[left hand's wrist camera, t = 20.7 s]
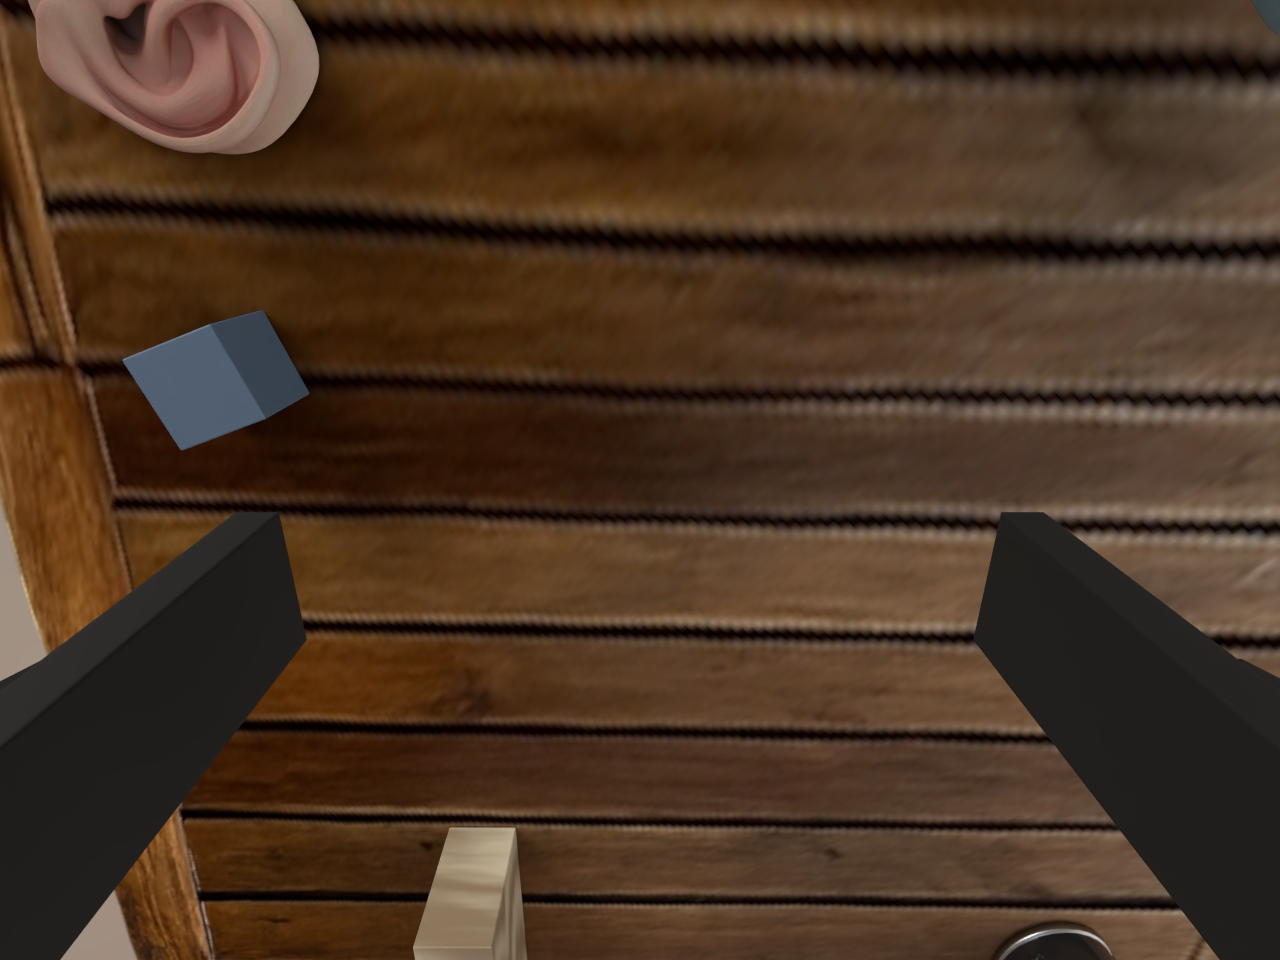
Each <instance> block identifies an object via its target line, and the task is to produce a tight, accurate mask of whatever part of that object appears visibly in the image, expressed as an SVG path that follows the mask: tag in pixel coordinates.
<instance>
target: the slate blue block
mask: <svg viewBox="0 0 1280 960" xmlns="http://www.w3.org/2000/svg"><path fill="white" fill-rule="evenodd" d="M123 362H124V364H125V365H126V367H127V368H128V370H129V371H130V373H131V375H132V376H133V378H134V379H135V381H136V382H137V384H138V385H139V387H140V388H141V390H142V391H143V393H144V394H145V396H146V397H147V399H148V401H149V402H150V404H151V405H152V407H153V408H154V410H155V411H156V413H157V414H158V416H159V417H160V419H161V420H162V422H163V423H164V425H165V427H166V428H167V430H168V431H169V433H170V434H171V436H172V437H173V439H174V440H175V442H176V443H177V445H178V446H179V448H180V449H181V450H185V449H187V448H190V447H193V446H195V445H198V444H201V443H203V442H206V441H209V440H211V439H214V438H216V437H219V436H222V435H224V434H227V433H230V432H232V431H235V430H238V429H240V428H243V427H246V426H248V425H251V424H254V423H256V422H259V421H261V420H264V419H266V418H268V417H270V416H271V415H273V414H275V413H277V412H279V411H280V410H282V409H284V408H286V407H287V406H289V405H291V404H293V403H294V402H296V401H298V400H300V399H301V398H303V397H305V396H307V395H308V394H309V391H308V390H307V388H306V386H305V384H304V383H303V381H302V379H301V377H300V375H299V374H298V372H297V370H296V368H295V366H294V365H293V363H292V361H291V359H290V357H289V356H288V354H287V352H286V350H285V349H284V347H283V345H282V343H281V341H280V340H279V338H278V336H277V334H276V332H275V331H274V329H273V327H272V325H271V324H270V322H269V320H268V318H267V316H266V315H265V313H264V311H263V310H261V311H257V312H253V313H250V314H246V315H242V316H239V317H235V318H231V319H228V320H224V321H220V322H217V323H213V324H209V325H207V326H204V327H202V328H199V329H197V330H194V331H192V332H189V333H187V334H184V335H182V336H179V337H177V338H174V339H172V340H169V341H167V342H165V343H162V344H160V345H157V346H155V347H152V348H150V349H147V350H145V351H142V352H140V353H137V354H135V355H132V356H130V357H127V358H125V359H123Z"/></svg>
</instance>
